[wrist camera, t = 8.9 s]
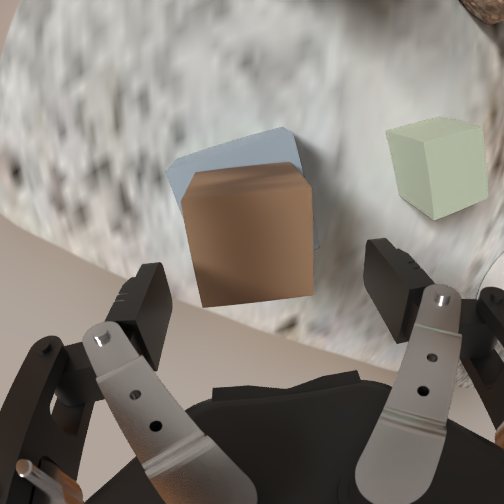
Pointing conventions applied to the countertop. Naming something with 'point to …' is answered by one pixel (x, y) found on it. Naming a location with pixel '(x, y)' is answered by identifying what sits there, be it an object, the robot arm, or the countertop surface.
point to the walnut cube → (250, 233)
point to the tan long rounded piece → (486, 10)
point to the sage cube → (439, 165)
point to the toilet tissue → (494, 278)
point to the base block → (237, 160)
